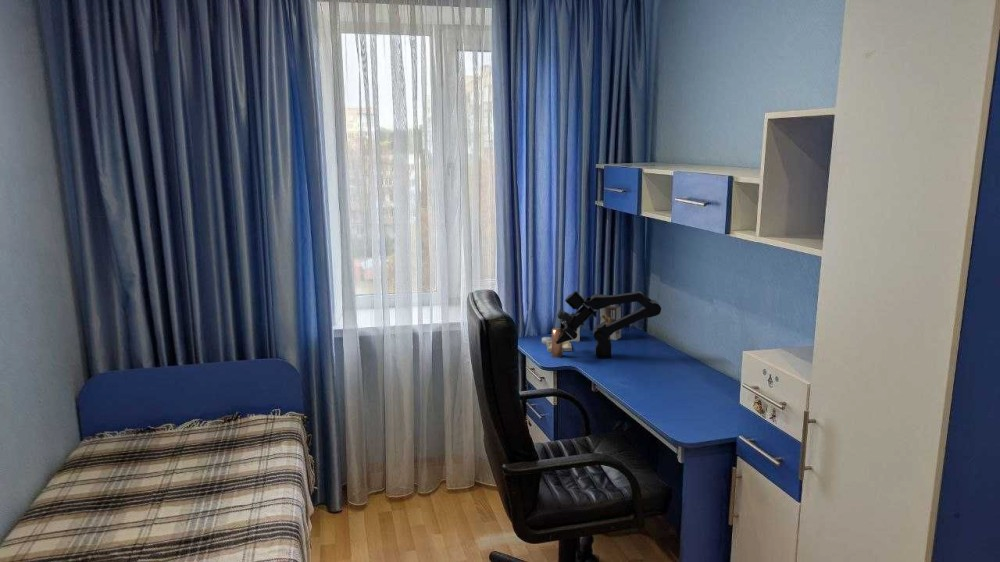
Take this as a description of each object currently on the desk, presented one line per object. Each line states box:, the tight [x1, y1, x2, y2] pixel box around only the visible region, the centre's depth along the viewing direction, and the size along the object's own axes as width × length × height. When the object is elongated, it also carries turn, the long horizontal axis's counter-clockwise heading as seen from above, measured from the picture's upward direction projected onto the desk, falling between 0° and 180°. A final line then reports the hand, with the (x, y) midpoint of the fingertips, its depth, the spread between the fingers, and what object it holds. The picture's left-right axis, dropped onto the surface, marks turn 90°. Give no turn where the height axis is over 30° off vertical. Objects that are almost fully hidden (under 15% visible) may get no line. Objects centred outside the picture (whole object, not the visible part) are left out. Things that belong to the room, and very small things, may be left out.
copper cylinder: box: [551, 327, 563, 358], centre depth 305 cm, size 5×5×12 cm
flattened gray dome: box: [541, 336, 552, 345], centre depth 326 cm, size 5×5×2 cm
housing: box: [569, 326, 581, 342], centre depth 331 cm, size 8×8×9 cm
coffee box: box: [599, 304, 622, 341], centre depth 333 cm, size 9×6×16 cm
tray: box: [545, 341, 573, 353], centre depth 317 cm, size 11×11×2 cm
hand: (555, 340), depth 304 cm, fingers open, 9 cm apart
